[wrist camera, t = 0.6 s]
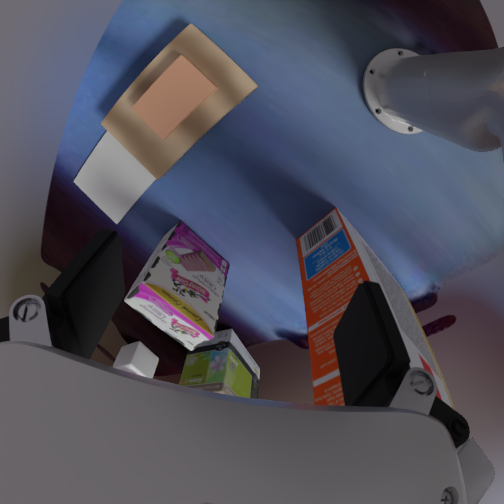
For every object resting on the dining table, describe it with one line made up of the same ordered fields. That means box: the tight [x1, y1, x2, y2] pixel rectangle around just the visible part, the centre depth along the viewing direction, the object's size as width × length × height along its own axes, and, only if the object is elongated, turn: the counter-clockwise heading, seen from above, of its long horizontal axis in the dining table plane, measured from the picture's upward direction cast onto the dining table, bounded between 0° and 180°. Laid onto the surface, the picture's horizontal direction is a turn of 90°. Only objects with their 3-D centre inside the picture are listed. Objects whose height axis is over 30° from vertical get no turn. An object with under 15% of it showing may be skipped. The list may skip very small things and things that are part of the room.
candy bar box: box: [124, 220, 230, 351], centre depth 40 cm, size 11×5×16 cm, turn 43°
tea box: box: [179, 329, 260, 399], centre depth 54 cm, size 15×10×15 cm
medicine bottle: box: [113, 341, 159, 379], centre depth 58 cm, size 7×7×12 cm
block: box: [131, 55, 219, 140], centre depth 30 cm, size 9×6×2 cm, turn 132°
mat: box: [73, 131, 156, 224], centre depth 40 cm, size 12×11×1 cm
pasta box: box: [296, 208, 455, 410], centre depth 34 cm, size 23×8×30 cm, turn 46°
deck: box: [101, 24, 259, 180], centre depth 33 cm, size 18×12×4 cm, turn 132°
